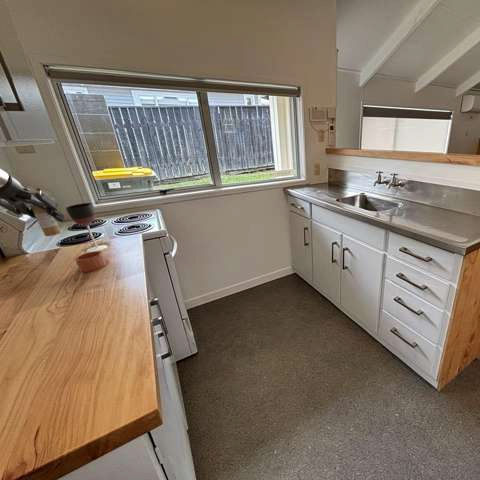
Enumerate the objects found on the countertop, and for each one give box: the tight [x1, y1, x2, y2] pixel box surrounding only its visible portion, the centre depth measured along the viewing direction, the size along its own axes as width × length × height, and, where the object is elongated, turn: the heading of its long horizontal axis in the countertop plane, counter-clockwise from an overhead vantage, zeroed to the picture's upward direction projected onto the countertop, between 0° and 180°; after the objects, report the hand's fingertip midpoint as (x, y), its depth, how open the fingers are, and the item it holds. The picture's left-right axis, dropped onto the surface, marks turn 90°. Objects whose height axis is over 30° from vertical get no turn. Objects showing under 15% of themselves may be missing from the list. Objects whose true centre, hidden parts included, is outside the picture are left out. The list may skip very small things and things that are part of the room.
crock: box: [74, 250, 107, 273], centre depth 97 cm, size 8×8×5 cm
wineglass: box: [65, 202, 108, 253], centre depth 112 cm, size 8×9×20 cm
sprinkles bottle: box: [28, 203, 62, 237], centre depth 92 cm, size 5×5×13 cm
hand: (54, 219), depth 96 cm, fingers closed on sprinkles bottle, 4 cm apart
